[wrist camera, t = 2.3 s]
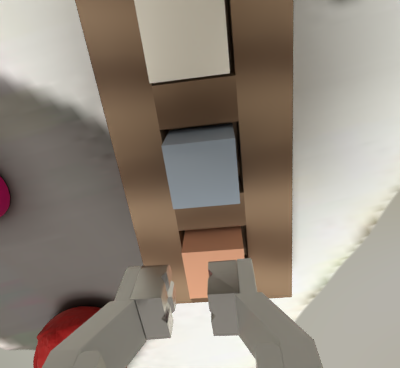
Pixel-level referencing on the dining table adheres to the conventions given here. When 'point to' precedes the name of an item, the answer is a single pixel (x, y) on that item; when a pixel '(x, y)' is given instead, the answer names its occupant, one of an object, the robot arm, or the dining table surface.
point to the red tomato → (60, 330)
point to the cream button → (183, 38)
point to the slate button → (202, 166)
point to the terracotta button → (208, 254)
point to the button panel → (196, 117)
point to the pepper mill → (4, 197)
